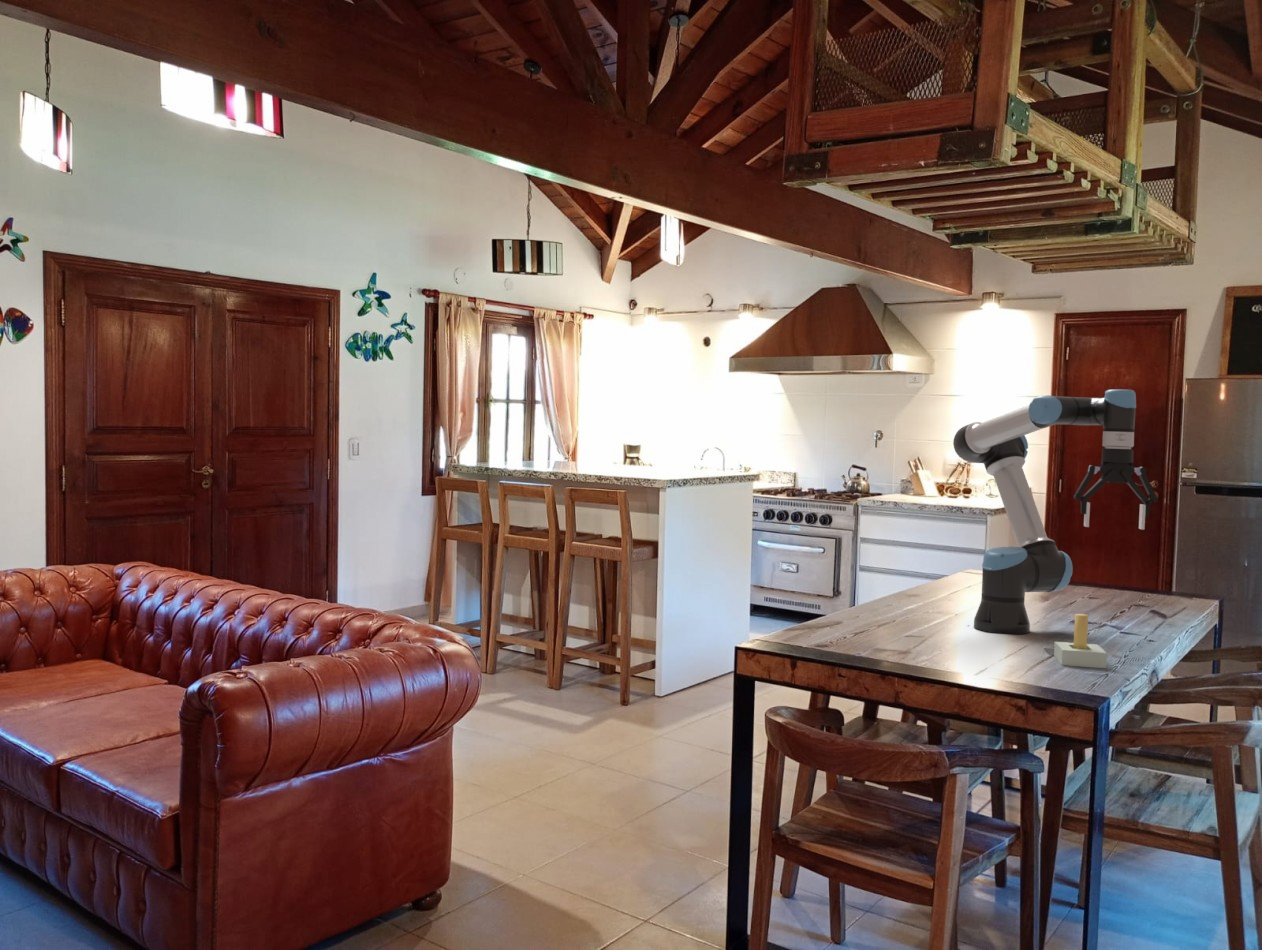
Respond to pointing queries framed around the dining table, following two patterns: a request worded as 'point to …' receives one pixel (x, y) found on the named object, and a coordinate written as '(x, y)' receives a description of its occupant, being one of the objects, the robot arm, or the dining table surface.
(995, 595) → the robot arm
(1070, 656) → the hole block
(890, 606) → the dining table surface
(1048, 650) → the mat
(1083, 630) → the peg
